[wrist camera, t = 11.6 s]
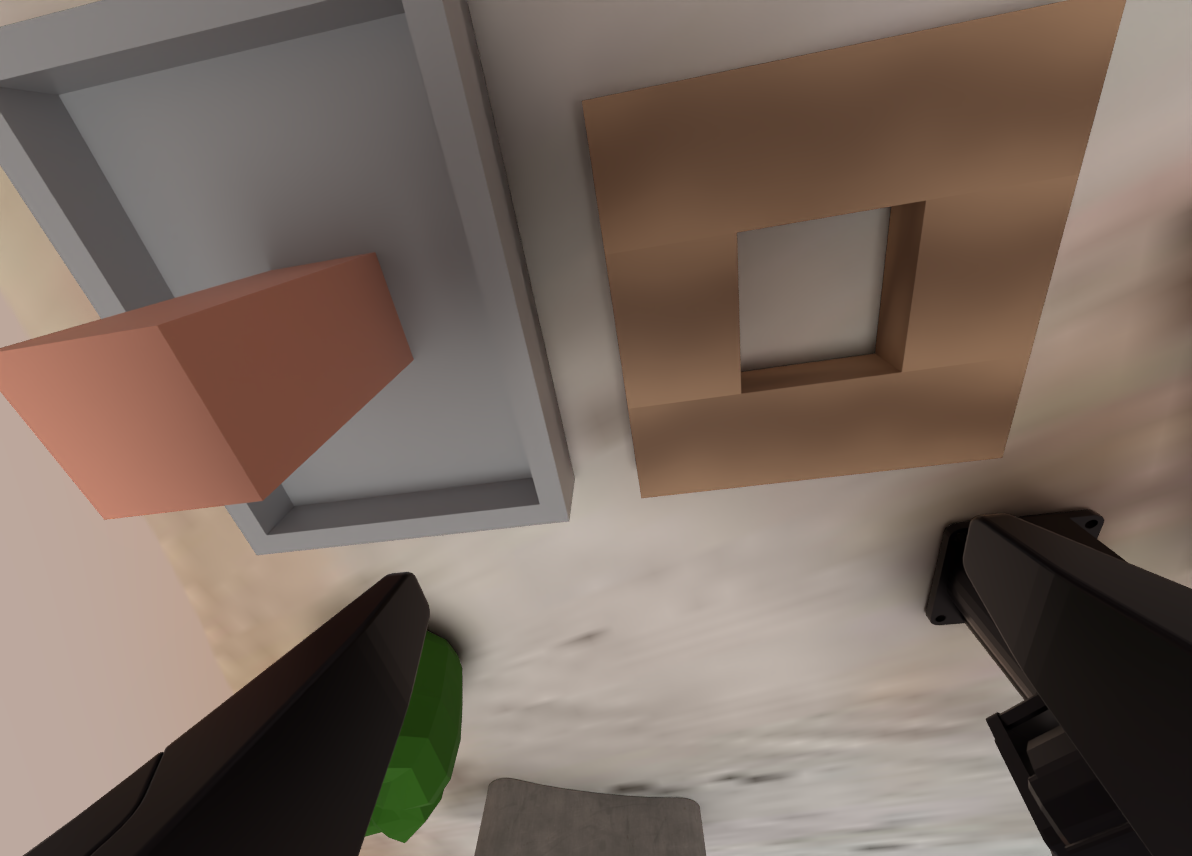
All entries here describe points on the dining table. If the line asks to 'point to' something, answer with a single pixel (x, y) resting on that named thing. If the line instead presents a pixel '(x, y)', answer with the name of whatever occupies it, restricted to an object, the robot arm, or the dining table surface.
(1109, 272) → the dining table surface
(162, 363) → the brown tall block
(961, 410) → the socket block
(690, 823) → the hip flask
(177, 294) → the tray
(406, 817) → the bell pepper
